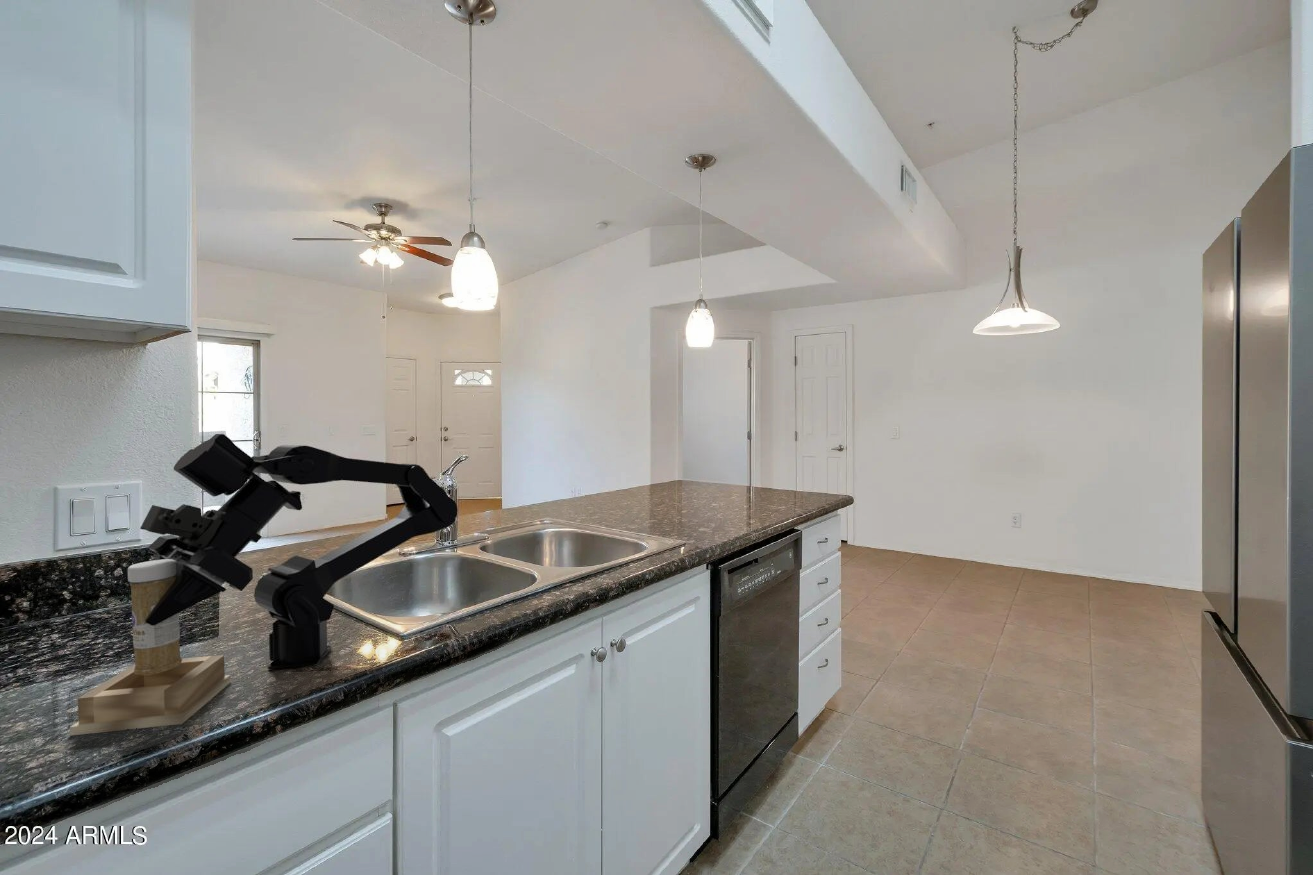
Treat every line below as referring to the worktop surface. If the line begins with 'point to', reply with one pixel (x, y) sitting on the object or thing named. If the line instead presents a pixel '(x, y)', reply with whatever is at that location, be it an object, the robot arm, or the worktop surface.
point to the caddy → (151, 697)
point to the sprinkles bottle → (148, 586)
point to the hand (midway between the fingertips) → (142, 620)
